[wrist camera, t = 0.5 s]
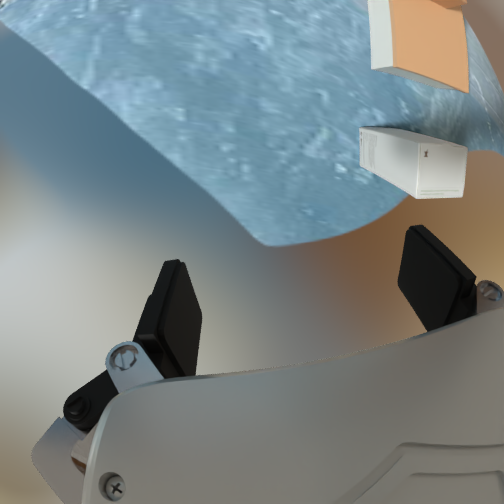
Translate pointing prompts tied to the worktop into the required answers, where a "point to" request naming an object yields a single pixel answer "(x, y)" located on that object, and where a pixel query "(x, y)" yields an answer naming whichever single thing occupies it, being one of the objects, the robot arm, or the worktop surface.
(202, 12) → the worktop surface
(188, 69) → the worktop surface
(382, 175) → the skincare box
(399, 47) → the lid
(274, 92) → the worktop surface
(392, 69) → the tub
